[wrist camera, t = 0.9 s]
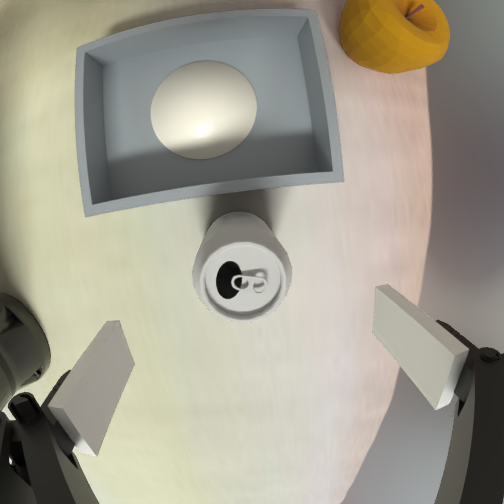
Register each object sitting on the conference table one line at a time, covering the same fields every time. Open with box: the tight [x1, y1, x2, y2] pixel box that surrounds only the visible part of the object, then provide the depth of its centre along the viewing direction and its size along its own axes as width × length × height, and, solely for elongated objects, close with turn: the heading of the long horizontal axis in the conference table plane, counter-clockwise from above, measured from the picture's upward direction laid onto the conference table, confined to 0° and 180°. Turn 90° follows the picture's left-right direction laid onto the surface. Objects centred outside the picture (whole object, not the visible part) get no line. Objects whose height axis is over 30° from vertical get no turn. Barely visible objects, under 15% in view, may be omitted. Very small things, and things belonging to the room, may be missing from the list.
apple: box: [339, 0, 450, 74], centre depth 20 cm, size 11×11×13 cm
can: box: [192, 211, 292, 323], centre depth 26 cm, size 8×8×12 cm
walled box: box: [75, 9, 344, 217], centre depth 24 cm, size 24×18×6 cm
